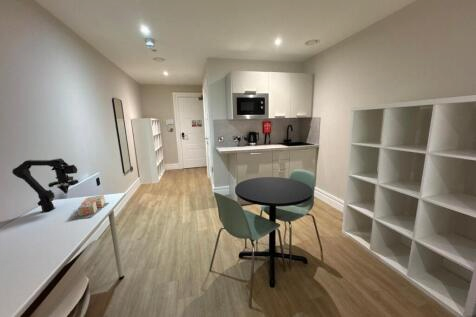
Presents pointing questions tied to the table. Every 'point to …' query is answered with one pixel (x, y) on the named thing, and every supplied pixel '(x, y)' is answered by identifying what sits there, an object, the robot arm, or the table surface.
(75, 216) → the mat
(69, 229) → the table surface
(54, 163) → the robot arm
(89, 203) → the stack of blocks
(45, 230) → the table surface
